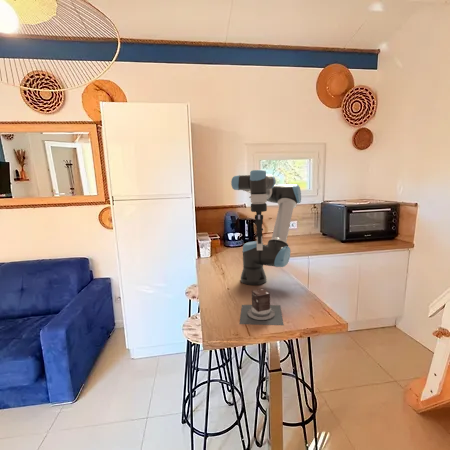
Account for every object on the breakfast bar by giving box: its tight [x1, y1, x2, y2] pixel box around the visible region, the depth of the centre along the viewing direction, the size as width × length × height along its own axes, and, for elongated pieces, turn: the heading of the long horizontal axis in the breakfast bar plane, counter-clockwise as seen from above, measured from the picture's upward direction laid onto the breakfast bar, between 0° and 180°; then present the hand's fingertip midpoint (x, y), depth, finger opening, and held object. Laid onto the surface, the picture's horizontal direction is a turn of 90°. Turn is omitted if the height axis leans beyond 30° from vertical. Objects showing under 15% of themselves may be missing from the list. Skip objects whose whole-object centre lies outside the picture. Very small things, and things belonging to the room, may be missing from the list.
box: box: [251, 288, 271, 312], centre depth 121 cm, size 6×6×7 cm
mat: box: [239, 304, 285, 326], centre depth 122 cm, size 18×18×1 cm
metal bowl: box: [247, 307, 275, 321], centre depth 122 cm, size 12×12×3 cm
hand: (259, 246), depth 134 cm, fingers open, 13 cm apart
